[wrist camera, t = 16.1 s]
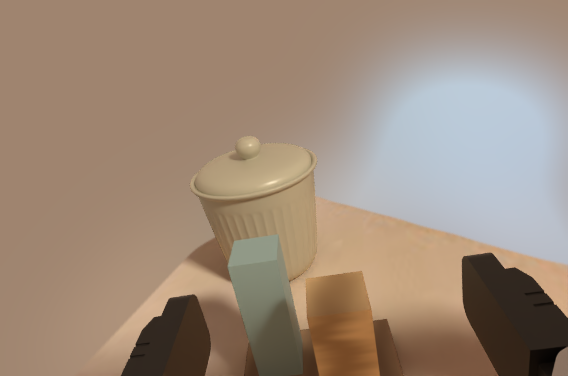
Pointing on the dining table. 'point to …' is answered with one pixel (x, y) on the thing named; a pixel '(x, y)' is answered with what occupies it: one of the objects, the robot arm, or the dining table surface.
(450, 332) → the dining table surface
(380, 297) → the dining table surface
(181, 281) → the dining table surface
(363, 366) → the oak post
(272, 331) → the frame base
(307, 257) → the canister
